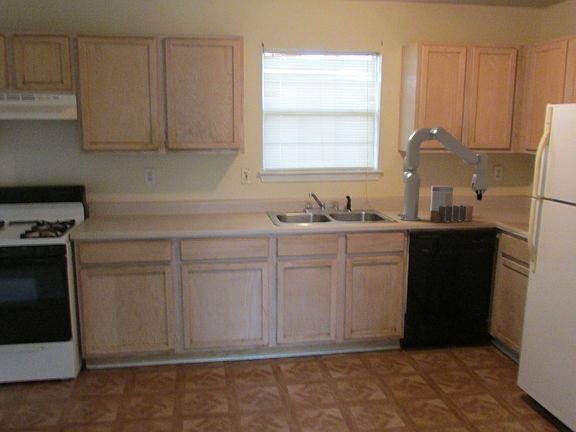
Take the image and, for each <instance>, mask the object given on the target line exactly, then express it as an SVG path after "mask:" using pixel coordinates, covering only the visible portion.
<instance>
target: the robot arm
mask: <svg viewBox="0 0 576 432" xmlns="http://www.w3.org/2000/svg"><path fill="white" fill-rule="evenodd" d="M425 141H427V142H428V141H437V142H438V143H439V144H440V145H441V146H443V147H444V148H445V149H446V150H448V151H449V152H451V153H452V154H455V155H457V156H458V157H460V158H461V161H462V162H463V163H464V164H465V165H467V166H468V165H469V166H474V174H472V178H471V182H470V183H471V184H470V188H471V191H472V192H474V193H475V194H476V201H482V200H483V195H484V193H485V192H487V191H488V189H489V175H488V173H489V170H488V160H489V159H488V157H489V156H488V153H486V152H485V153H483V152H477V153H475V152H474V151H473V150H471V149H470V148H469V147H468V146H466V145H465V144H463V143H462V142H461V141H460V140H459V139H457V138H456V137H454V136H453V135H452V134H451V133H450V132H449V131H447V130H446V129H445V128H444V127H442V126H435V127H434V126H433V127H423V128H421V127H419V128H415V130H413V132H412V134H411V135H410V136H409V138H408V140H407V142H406V143H407V144H406V150H405V151H406V152H405V156H404V158H403V160H402V180H403V182H404V183H405V184H404V194H403V195H404V197H403V211H402V212H401V213H396V217H400V219H401V220H404V221H411V222H412V221H413V222H414V221H416V222H417V221H421V217H419V205H420V189H421V180H422V179H421V176H420V174H419V173H418V168H419V166H420V164H421V162H420V157H421V156H420V153H421V152H420V151H421V146H422V143H423V142H425Z"/></svg>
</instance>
